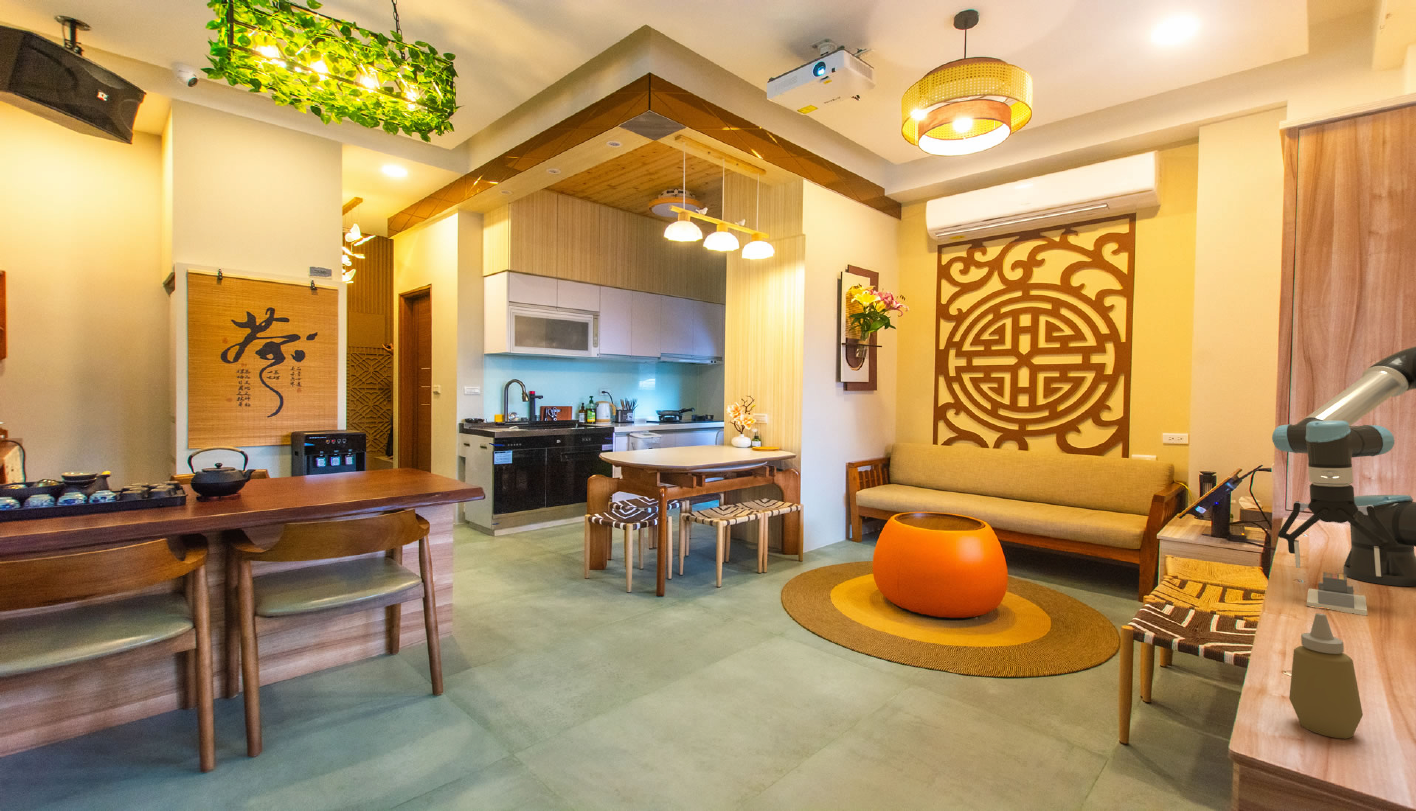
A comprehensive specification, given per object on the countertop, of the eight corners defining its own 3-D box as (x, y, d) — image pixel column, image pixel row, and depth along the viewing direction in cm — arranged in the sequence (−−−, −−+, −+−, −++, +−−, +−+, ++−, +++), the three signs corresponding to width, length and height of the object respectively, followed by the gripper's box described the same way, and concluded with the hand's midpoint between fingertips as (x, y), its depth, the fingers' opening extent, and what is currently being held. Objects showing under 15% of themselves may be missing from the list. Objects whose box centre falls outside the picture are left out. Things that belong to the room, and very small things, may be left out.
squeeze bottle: (1380, 743, 91) (1374, 622, 91) (1325, 744, 91) (1320, 624, 91) (1326, 715, 99) (1321, 605, 99) (1276, 717, 99) (1271, 607, 99)
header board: (1308, 592, 158) (1308, 576, 158) (1365, 600, 151) (1364, 583, 151) (1306, 606, 148) (1306, 589, 148) (1367, 615, 141) (1366, 597, 141)
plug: (1324, 596, 151) (1323, 571, 151) (1347, 599, 148) (1346, 574, 148) (1323, 602, 147) (1322, 576, 147) (1347, 605, 144) (1346, 579, 144)
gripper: (1260, 483, 155) (1266, 566, 154) (1410, 488, 137) (1416, 582, 136) (1263, 479, 160) (1268, 560, 160) (1407, 484, 142) (1413, 574, 142)
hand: (1336, 570), depth 148 cm, fingers open, 13 cm apart
